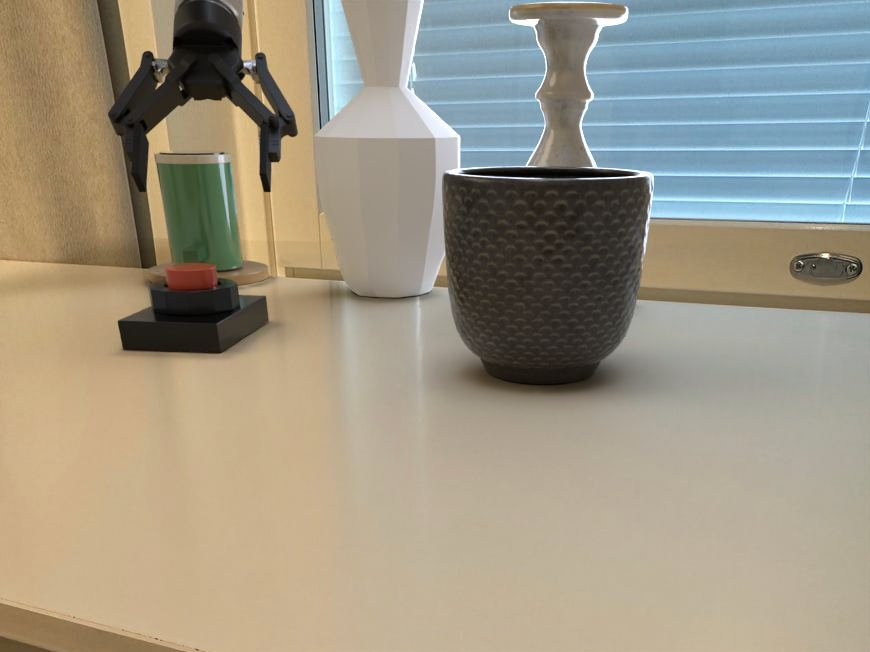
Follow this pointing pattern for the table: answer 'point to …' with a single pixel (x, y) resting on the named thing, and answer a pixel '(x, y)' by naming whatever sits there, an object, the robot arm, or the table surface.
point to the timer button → (191, 276)
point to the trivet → (223, 273)
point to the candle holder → (565, 73)
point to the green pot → (200, 207)
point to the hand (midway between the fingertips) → (202, 183)
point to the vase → (385, 161)
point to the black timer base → (193, 319)
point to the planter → (544, 265)
